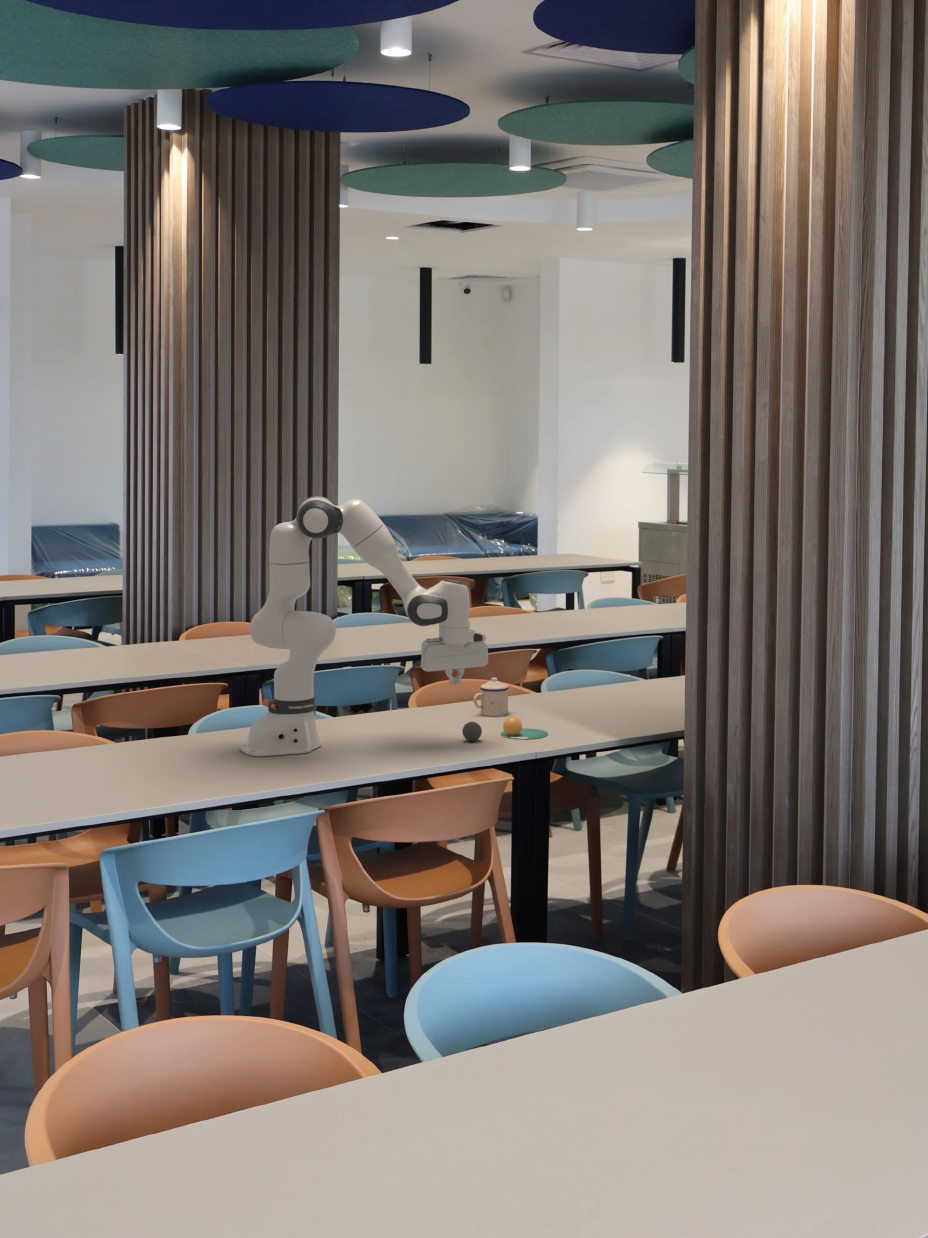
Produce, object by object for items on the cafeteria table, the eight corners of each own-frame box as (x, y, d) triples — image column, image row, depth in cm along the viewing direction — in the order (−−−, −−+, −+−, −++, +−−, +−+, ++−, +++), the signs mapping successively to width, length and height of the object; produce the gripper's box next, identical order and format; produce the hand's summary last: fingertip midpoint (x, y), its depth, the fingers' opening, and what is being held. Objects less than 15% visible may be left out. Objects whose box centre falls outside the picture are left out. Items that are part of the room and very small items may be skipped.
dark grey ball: (481, 720, 366) (487, 738, 367) (473, 716, 371) (478, 733, 372) (465, 729, 364) (471, 746, 365) (456, 724, 369) (462, 742, 370)
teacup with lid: (499, 710, 412) (499, 674, 410) (513, 715, 404) (513, 678, 403) (467, 714, 406) (466, 678, 405) (481, 719, 398) (480, 682, 397)
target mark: (515, 741, 367) (515, 740, 367) (492, 732, 379) (492, 731, 379) (557, 736, 374) (557, 735, 374) (532, 727, 386) (532, 726, 386)
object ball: (522, 715, 372) (527, 733, 374) (513, 712, 377) (518, 729, 379) (507, 723, 370) (512, 740, 371) (497, 719, 375) (502, 736, 376)
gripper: (426, 640, 354) (427, 689, 356) (490, 635, 364) (491, 682, 366) (416, 637, 360) (417, 685, 362) (480, 632, 369) (480, 679, 371)
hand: (454, 684), depth 364 cm, fingers closed
